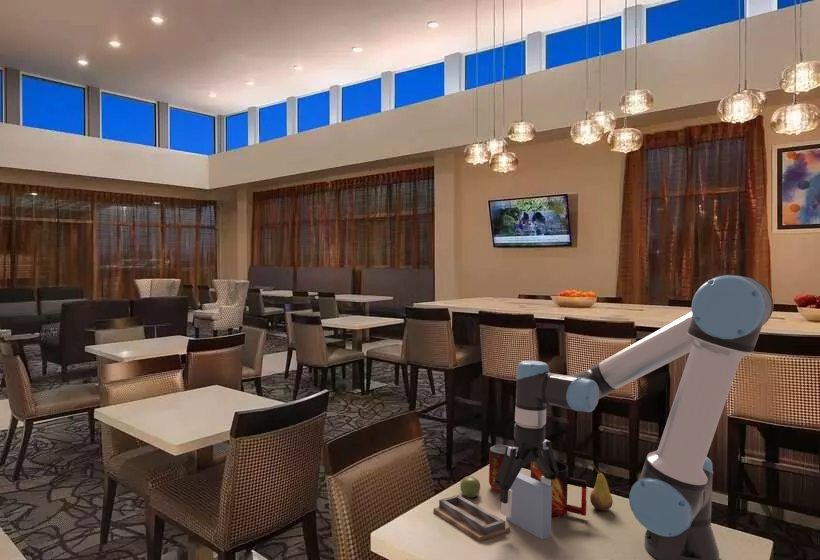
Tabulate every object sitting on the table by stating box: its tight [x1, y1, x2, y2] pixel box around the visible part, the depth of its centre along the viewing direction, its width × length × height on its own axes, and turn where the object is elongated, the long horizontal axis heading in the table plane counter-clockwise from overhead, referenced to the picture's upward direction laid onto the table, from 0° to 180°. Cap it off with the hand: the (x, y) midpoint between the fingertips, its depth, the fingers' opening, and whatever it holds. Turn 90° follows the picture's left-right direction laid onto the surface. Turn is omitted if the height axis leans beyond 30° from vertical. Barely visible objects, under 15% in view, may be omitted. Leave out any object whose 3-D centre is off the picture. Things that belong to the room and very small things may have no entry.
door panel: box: [505, 471, 552, 540], centre depth 132 cm, size 12×3×12 cm, turn 34°
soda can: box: [488, 444, 508, 494], centre depth 156 cm, size 7×7×12 cm
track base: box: [433, 494, 511, 542], centre depth 135 cm, size 18×10×3 cm, turn 34°
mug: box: [530, 459, 588, 519], centre depth 142 cm, size 10×14×12 cm
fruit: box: [589, 463, 614, 512], centre depth 143 cm, size 6×6×12 cm
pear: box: [460, 475, 481, 499], centre depth 152 cm, size 6×5×10 cm
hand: (526, 509), depth 132 cm, fingers open, 13 cm apart
